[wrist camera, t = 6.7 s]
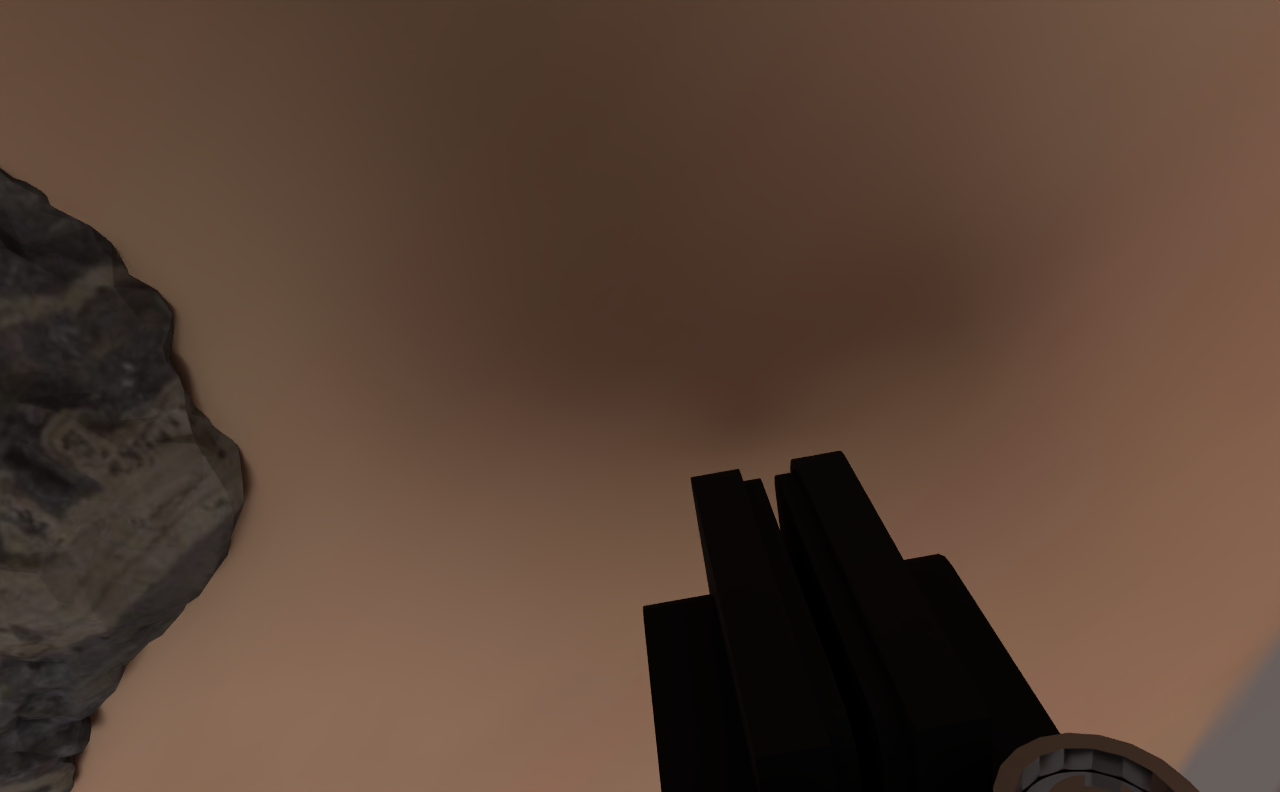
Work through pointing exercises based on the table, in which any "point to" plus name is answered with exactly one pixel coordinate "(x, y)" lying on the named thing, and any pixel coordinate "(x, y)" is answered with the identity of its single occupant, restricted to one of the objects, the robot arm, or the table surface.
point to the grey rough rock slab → (90, 484)
